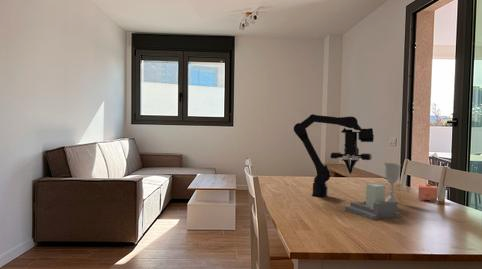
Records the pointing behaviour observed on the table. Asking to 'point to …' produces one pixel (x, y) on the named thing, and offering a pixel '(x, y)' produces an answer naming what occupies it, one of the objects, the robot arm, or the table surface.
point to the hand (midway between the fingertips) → (350, 173)
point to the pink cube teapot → (427, 192)
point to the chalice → (392, 177)
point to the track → (375, 210)
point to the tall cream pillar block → (374, 194)
